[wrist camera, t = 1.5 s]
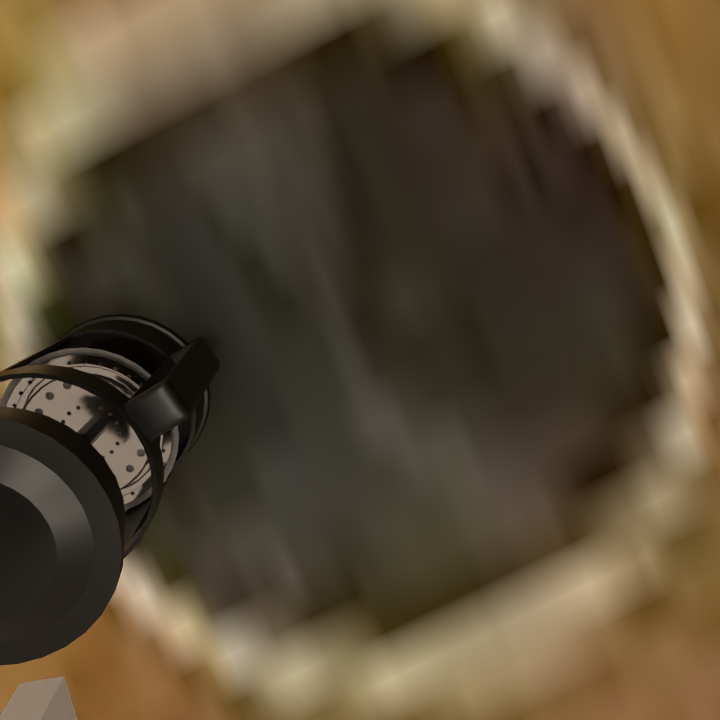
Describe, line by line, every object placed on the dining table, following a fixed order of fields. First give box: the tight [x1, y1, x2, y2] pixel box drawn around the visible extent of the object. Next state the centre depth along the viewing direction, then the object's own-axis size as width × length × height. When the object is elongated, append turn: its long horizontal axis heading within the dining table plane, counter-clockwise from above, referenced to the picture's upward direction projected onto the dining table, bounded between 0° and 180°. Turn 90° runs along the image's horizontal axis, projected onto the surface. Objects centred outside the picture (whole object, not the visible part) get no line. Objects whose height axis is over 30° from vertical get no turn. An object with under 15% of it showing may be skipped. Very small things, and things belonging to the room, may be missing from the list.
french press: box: [0, 314, 220, 665], centre depth 26 cm, size 12×9×23 cm
